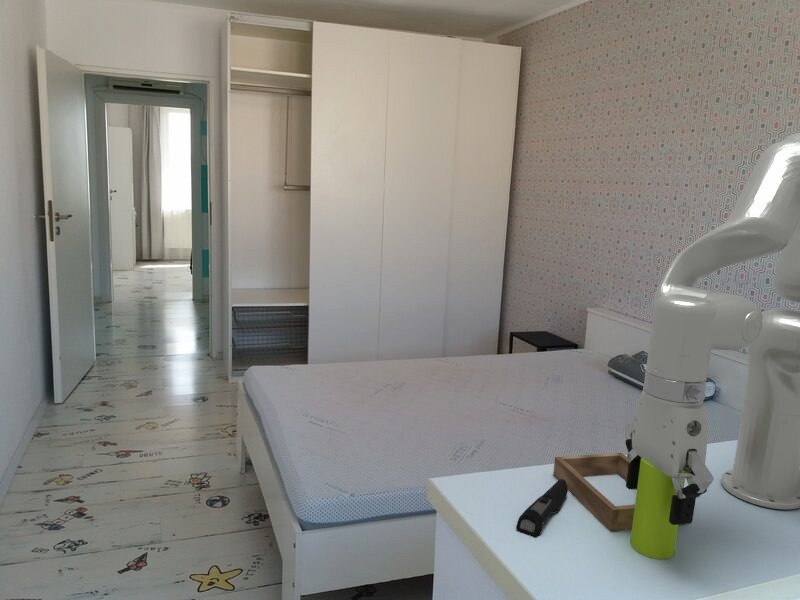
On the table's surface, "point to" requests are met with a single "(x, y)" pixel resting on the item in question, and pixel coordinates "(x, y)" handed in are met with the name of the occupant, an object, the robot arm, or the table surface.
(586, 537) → the table surface
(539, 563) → the table surface
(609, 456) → the frame
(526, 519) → the electric trimmer
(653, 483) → the soap dispenser
